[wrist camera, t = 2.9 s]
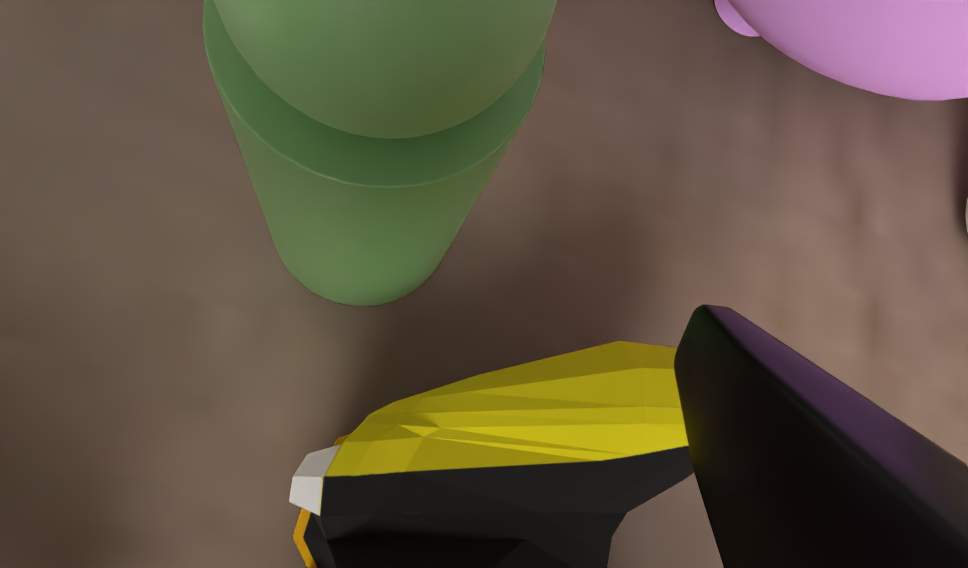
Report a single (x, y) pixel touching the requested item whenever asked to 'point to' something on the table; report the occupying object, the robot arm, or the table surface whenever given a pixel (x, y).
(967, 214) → the pill bottle
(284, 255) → the green toy
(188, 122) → the table surface
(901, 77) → the teapot
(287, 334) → the table surface
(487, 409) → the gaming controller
